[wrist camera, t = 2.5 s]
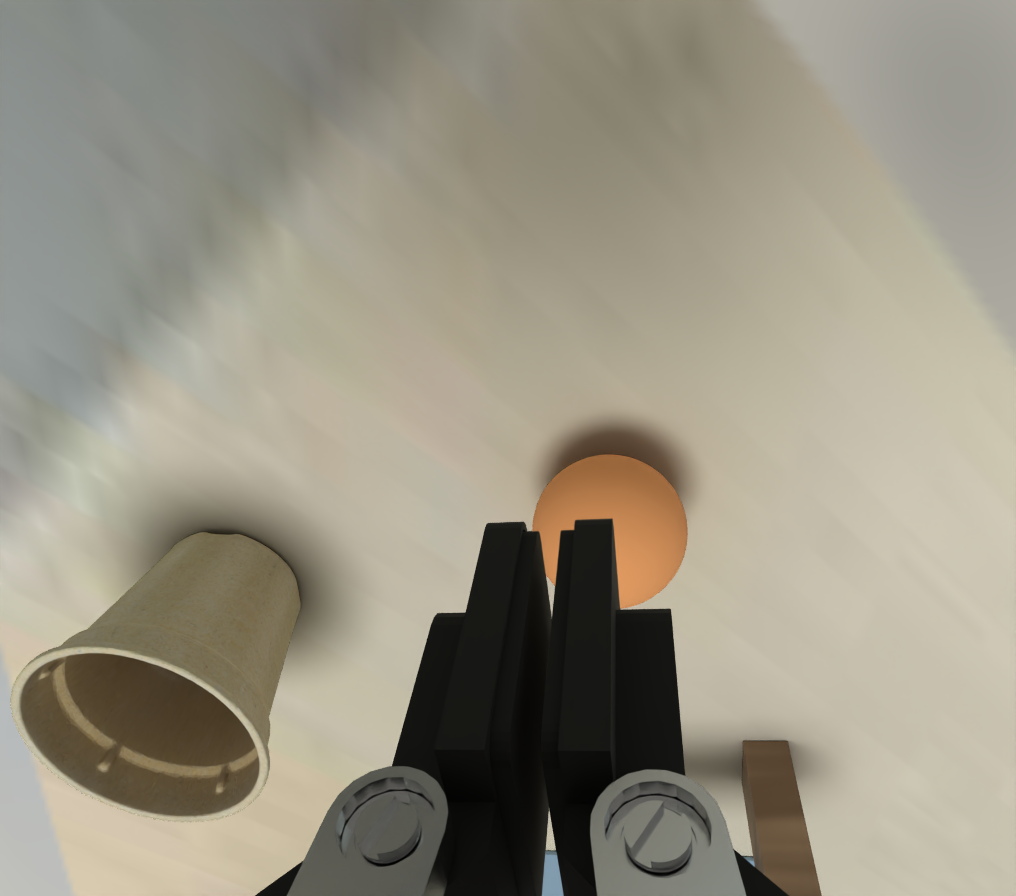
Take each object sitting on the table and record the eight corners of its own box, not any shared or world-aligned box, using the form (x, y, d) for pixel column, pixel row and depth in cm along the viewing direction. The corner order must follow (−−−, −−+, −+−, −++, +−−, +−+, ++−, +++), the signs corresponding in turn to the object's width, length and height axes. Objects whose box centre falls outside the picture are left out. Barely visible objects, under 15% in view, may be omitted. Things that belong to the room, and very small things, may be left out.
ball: (531, 430, 30) (515, 516, 26) (680, 422, 29) (692, 509, 25) (546, 546, 33) (535, 643, 28) (683, 542, 32) (695, 641, 27)
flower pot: (312, 684, 39) (241, 852, 32) (123, 619, 38) (5, 776, 31) (361, 545, 34) (291, 706, 27) (145, 467, 33) (12, 610, 26)
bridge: (480, 739, 40) (447, 930, 32) (787, 741, 37) (833, 948, 29) (489, 778, 41) (459, 970, 33) (784, 783, 39) (827, 991, 31)
